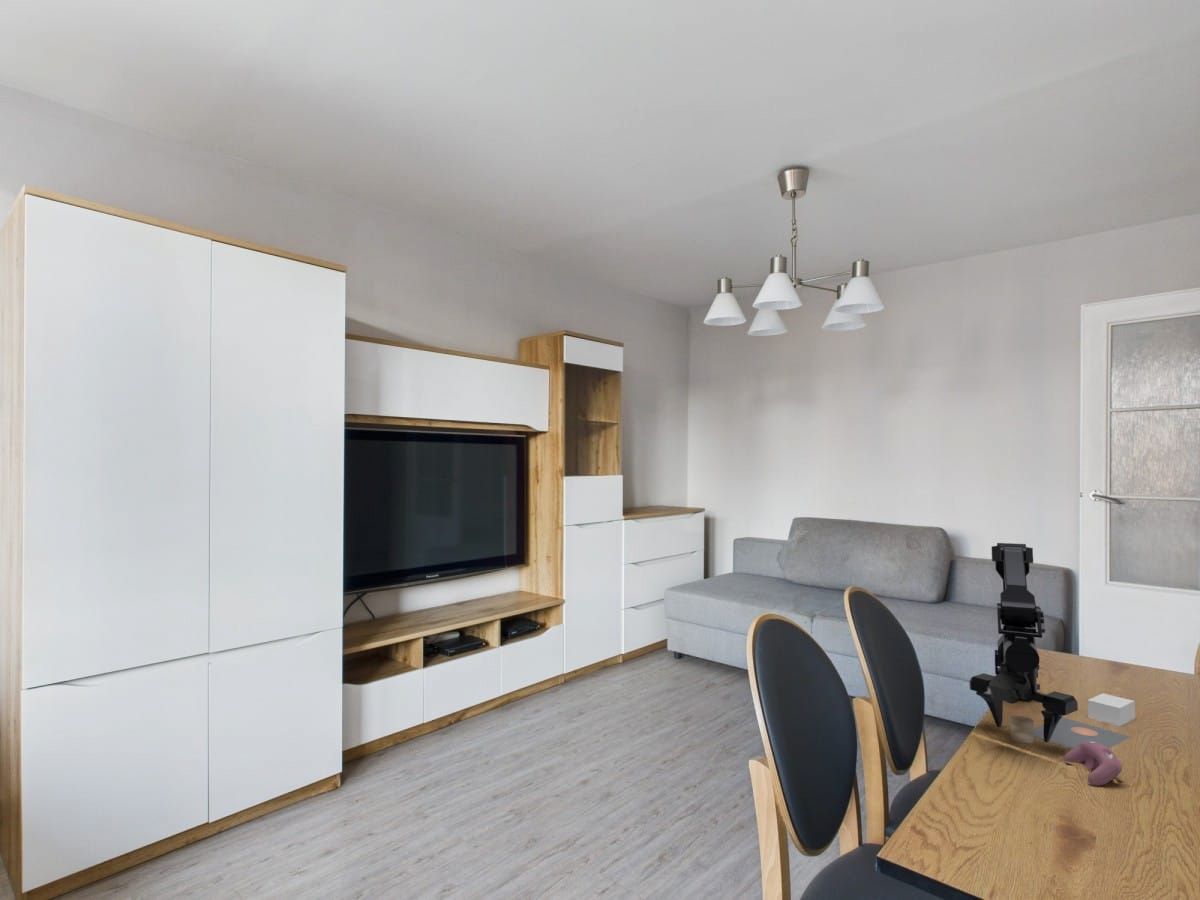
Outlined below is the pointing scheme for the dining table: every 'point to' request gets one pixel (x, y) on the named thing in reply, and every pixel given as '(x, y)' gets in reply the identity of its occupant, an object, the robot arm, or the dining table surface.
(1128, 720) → the white rectangular block
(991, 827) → the dining table surface
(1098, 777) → the video game controller
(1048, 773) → the dining table surface
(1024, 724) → the beige cylinder
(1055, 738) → the board
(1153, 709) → the dining table surface
